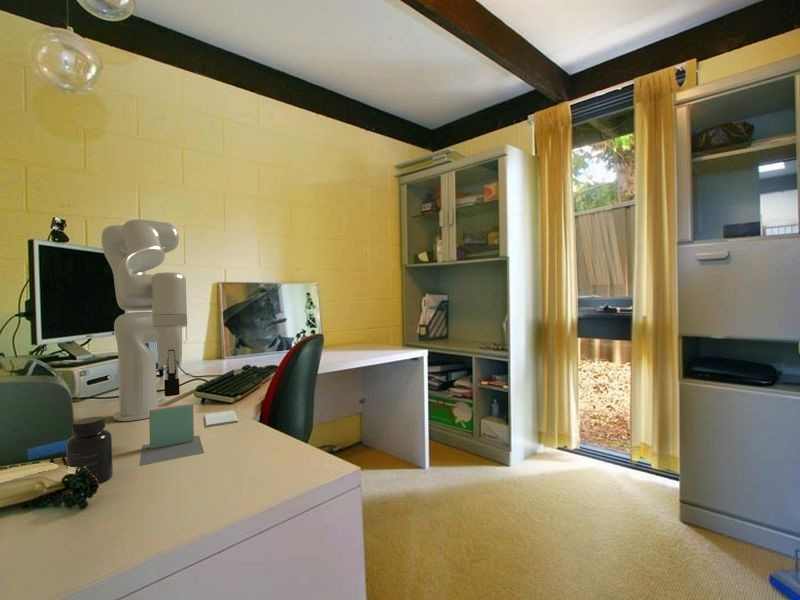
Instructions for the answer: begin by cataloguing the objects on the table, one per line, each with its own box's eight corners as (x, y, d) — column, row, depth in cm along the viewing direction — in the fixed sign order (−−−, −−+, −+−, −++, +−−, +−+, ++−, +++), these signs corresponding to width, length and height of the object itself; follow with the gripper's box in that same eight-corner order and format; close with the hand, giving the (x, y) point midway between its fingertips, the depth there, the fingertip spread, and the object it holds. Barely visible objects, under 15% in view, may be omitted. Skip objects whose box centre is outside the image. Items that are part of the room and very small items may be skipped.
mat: (142, 446, 93) (142, 445, 93) (199, 436, 99) (199, 435, 99) (139, 467, 81) (139, 465, 81) (204, 454, 87) (204, 452, 87)
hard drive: (238, 420, 109) (233, 409, 120) (205, 425, 105) (204, 413, 116) (238, 426, 109) (233, 414, 120) (205, 431, 105) (204, 419, 116)
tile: (150, 446, 92) (149, 408, 92) (193, 439, 96) (192, 402, 96) (149, 449, 90) (149, 410, 90) (194, 441, 95) (193, 404, 95)
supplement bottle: (74, 479, 76) (73, 417, 76) (117, 472, 79) (116, 412, 79) (60, 494, 70) (59, 427, 70) (107, 486, 72) (105, 422, 73)
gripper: (152, 322, 103) (154, 392, 102) (151, 323, 90) (153, 403, 89) (185, 321, 106) (187, 388, 106) (188, 321, 94) (191, 398, 93)
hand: (172, 395), depth 98 cm, fingers closed
